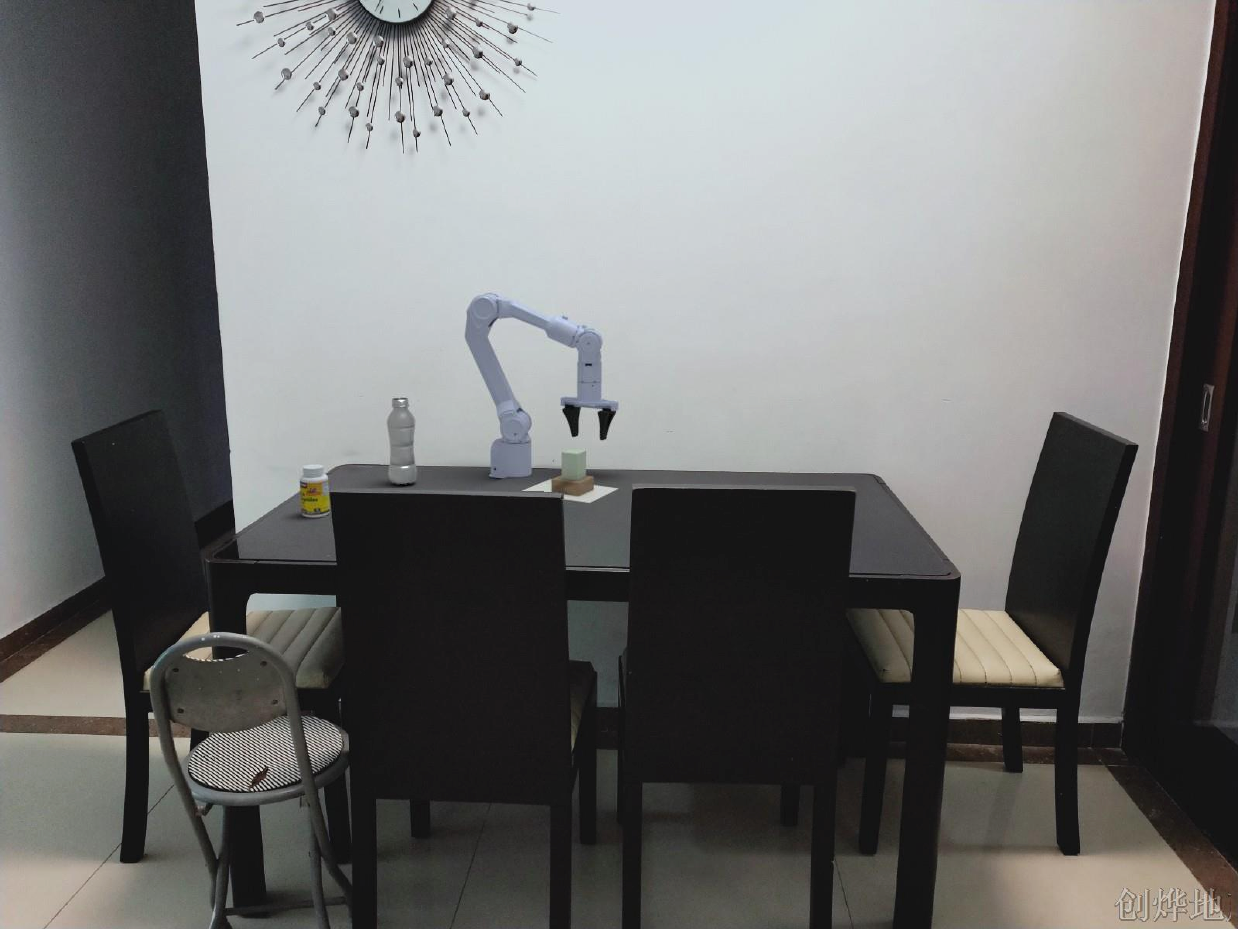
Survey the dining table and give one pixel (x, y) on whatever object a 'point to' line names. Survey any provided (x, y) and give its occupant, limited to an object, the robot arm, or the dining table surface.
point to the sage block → (573, 464)
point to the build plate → (587, 497)
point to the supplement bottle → (314, 492)
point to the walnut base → (572, 485)
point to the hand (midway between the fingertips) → (588, 438)
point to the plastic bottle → (401, 443)
